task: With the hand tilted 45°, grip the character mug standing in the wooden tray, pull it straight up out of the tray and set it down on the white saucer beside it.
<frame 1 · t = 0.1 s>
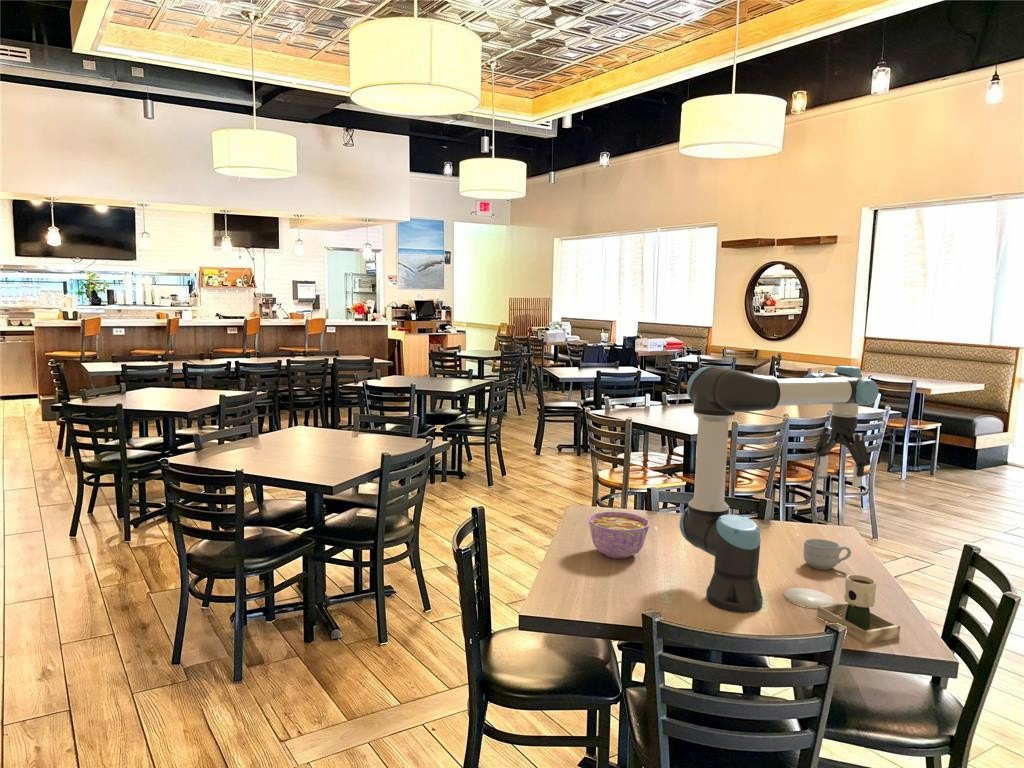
hand: (839, 481, 224), 28 cm above the table, tool pointing down, fingers open, 13 cm apart
teacup: (825, 568, 226), on the table
wooden tray: (856, 627, 184), on the table
bowl of food: (617, 555, 233), on the table
white saucer: (808, 599, 201), on the table
character mug: (856, 627, 184), resting in wooden tray
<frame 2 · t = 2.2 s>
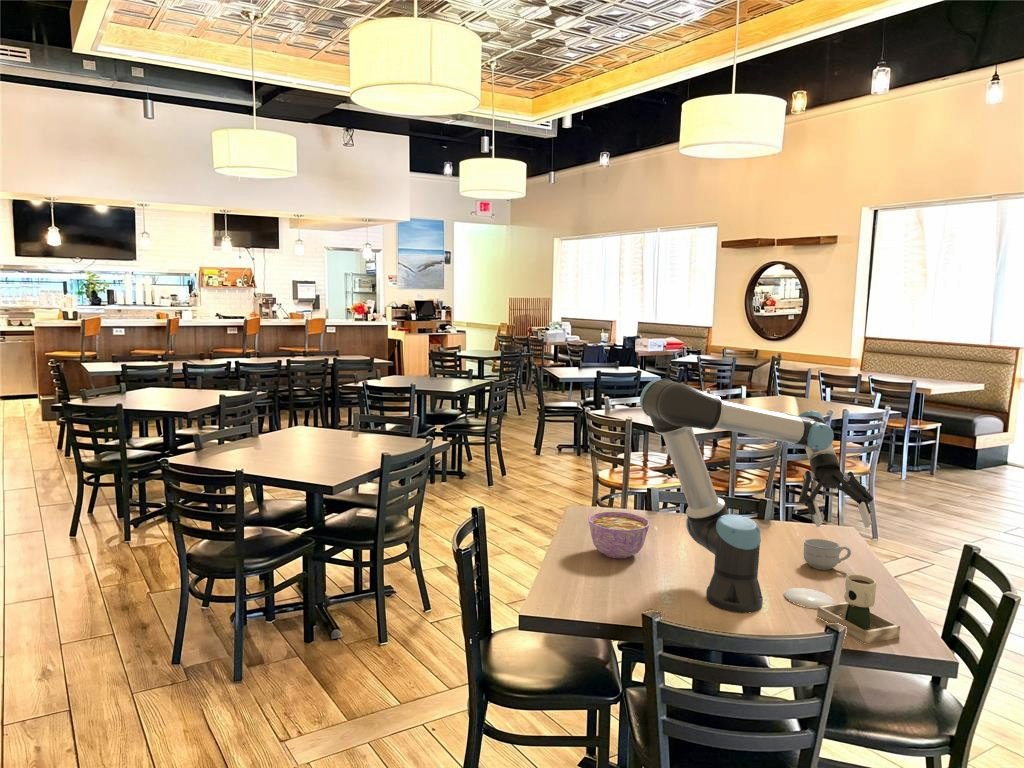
hand: (844, 525, 193), 24 cm above the table, tool tilted 45°, fingers open, 13 cm apart
nothing on the table moved.
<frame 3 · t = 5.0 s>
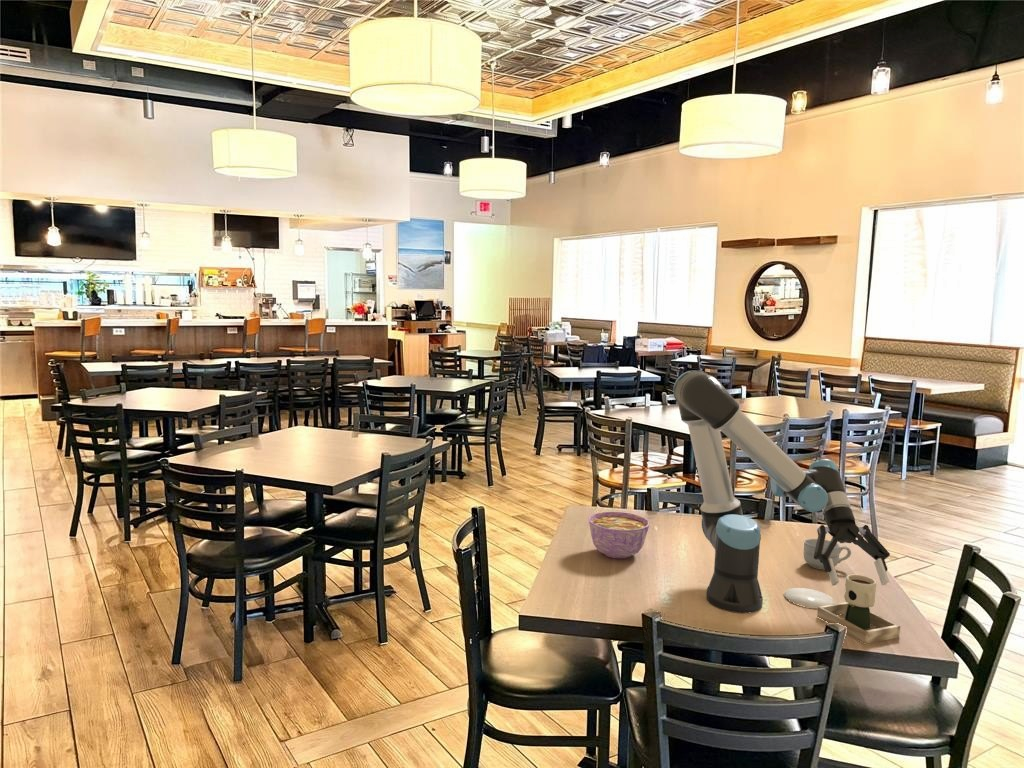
hand: (860, 583, 187), 10 cm above the table, tool tilted 45°, fingers open, 13 cm apart
nothing on the table moved.
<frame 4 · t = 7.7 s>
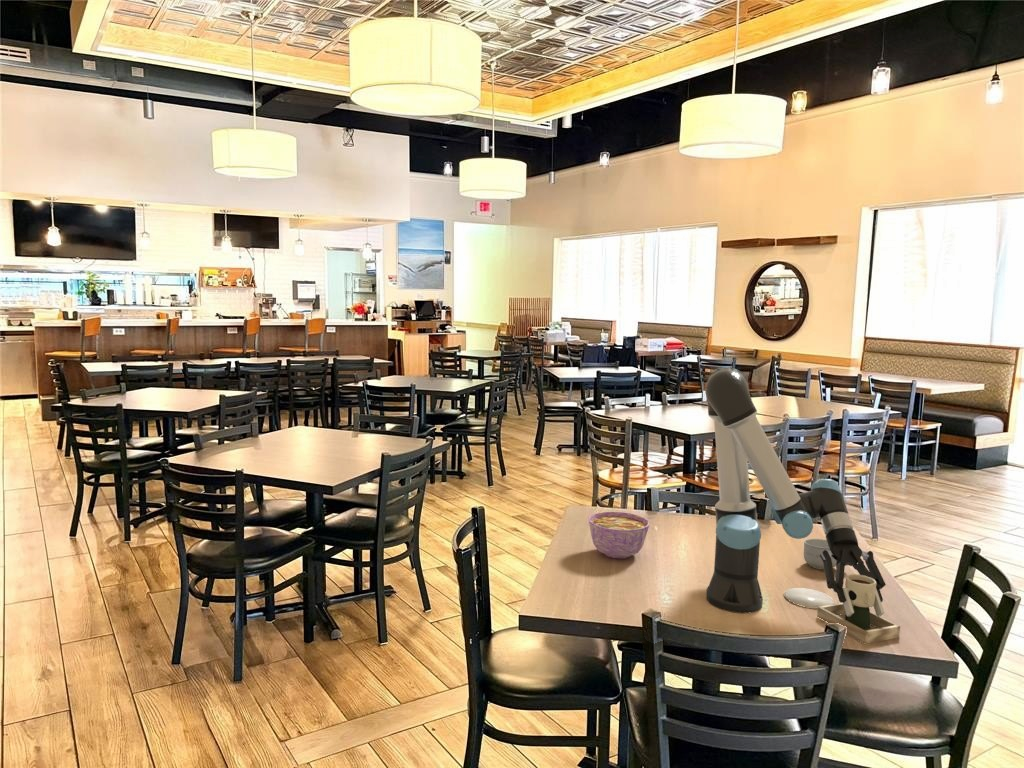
hand: (865, 614, 180), 5 cm above the table, tool tilted 45°, fingers closed on character mug, 7 cm apart
character mug: (856, 627, 184), resting in wooden tray, touching gripper
everything else where it was.
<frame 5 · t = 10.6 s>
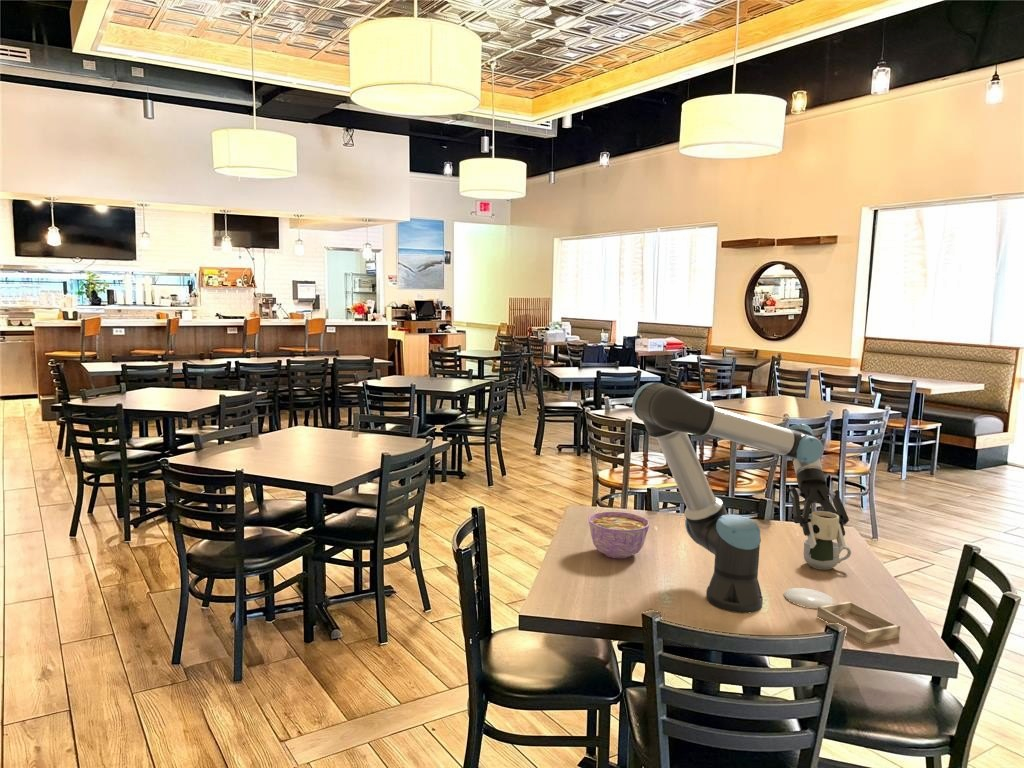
hand: (827, 546, 193), 18 cm above the table, tool tilted 45°, fingers closed on character mug, 7 cm apart
character mug: (820, 560, 197), point 13 cm above the table, touching gripper
everything else where it was.
when the fingers open (7 cm above the table, at t = 13.8 s): character mug drops 1 cm, resting on white saucer.
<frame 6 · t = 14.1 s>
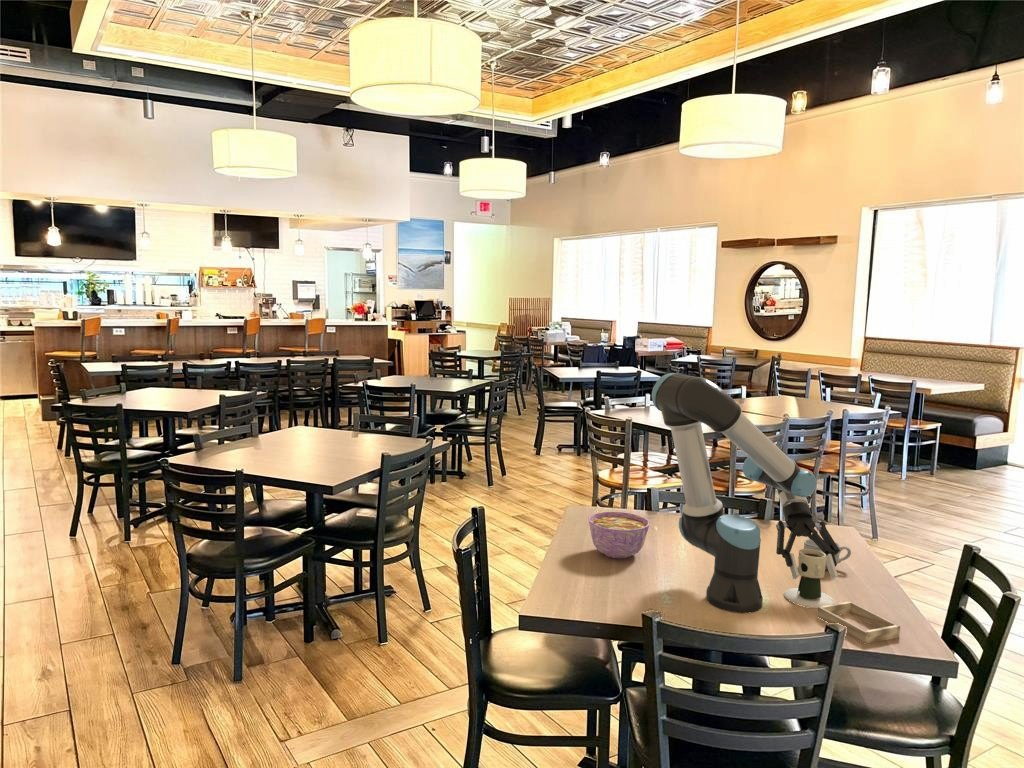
hand: (815, 577, 197), 8 cm above the table, tool tilted 45°, fingers open, 10 cm apart
character mug: (808, 597, 201), resting on white saucer
everything else where it was.
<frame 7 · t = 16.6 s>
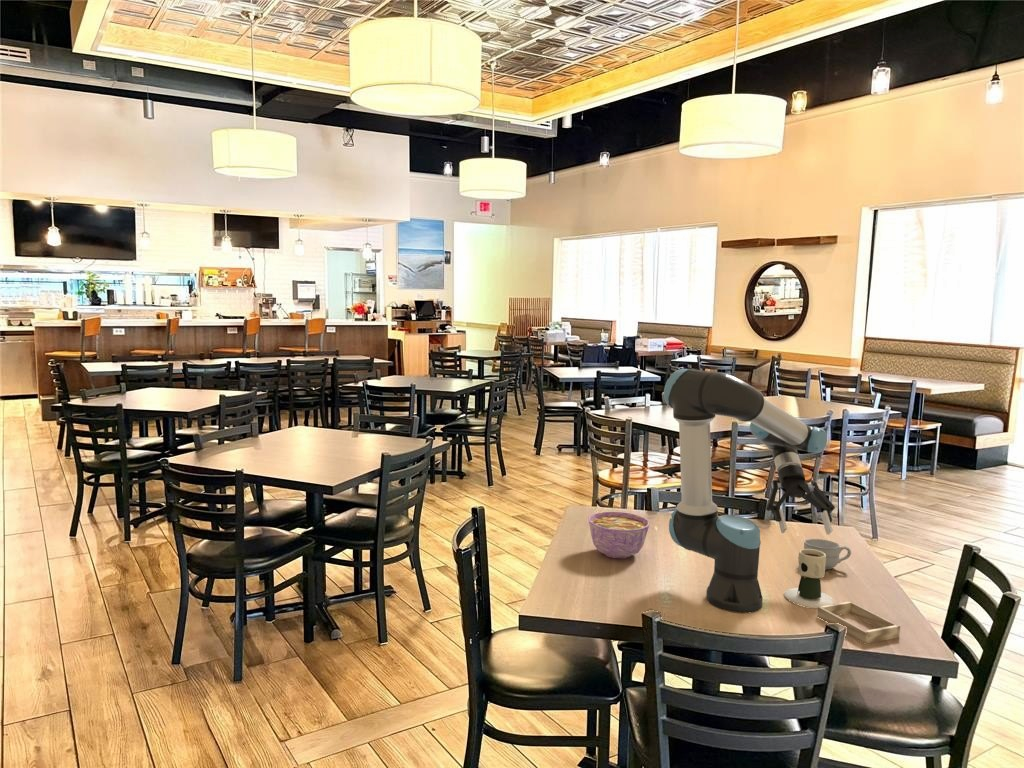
hand: (807, 531, 208), 17 cm above the table, tool tilted 45°, fingers open, 13 cm apart
nothing on the table moved.
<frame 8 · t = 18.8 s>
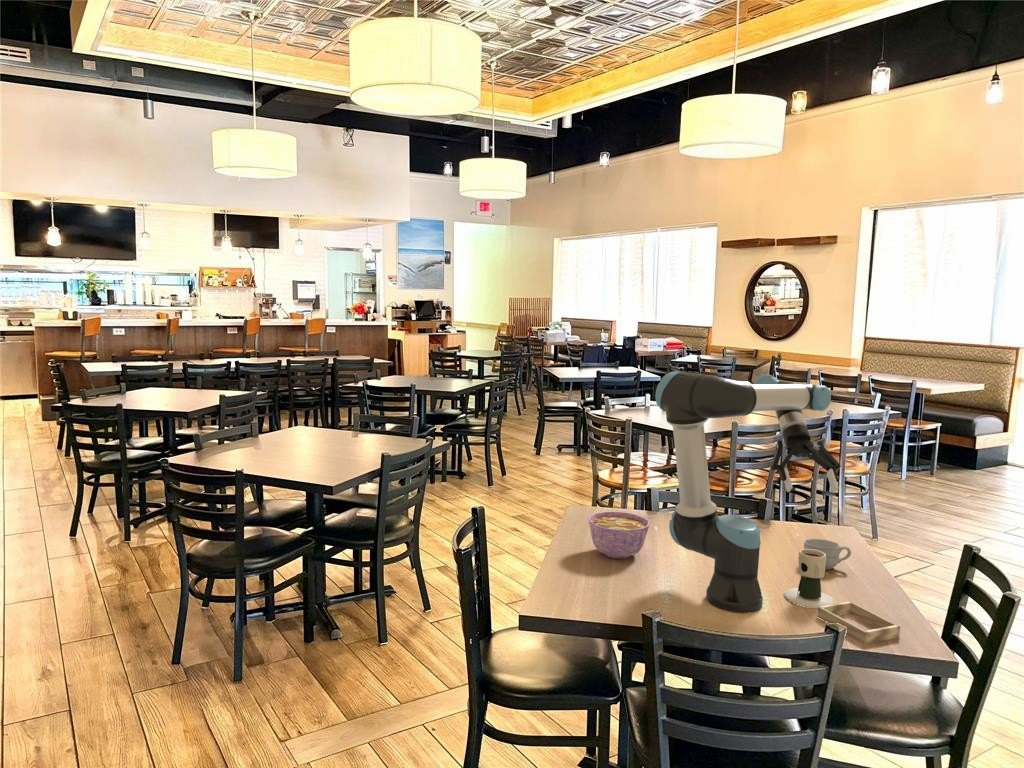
hand: (812, 490, 206), 30 cm above the table, tool tilted 45°, fingers open, 13 cm apart
nothing on the table moved.
at the end: character mug inside the target area on the white saucer (0.1 cm from its centre), point 0.4 cm above the white saucer's base; character mug tilted 0°; the gripper is holding nothing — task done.
